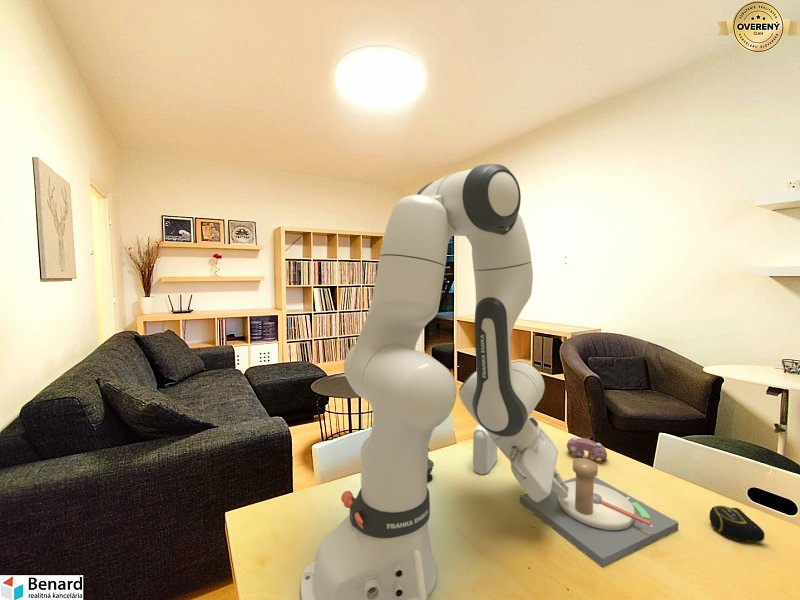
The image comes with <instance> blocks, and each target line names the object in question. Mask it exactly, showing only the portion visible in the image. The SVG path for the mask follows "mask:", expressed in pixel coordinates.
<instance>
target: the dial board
mask: <svg viewBox="0 0 800 600" xmlns="http://www.w3.org/2000/svg"><path fill="white" fill-rule="evenodd" d="M563 481H564V483H568V482H575V481H576V476H575V477H573V478H570V479H569V478H568V479H567V480H563ZM594 483H595V484H599V485H602V486H605V487H608V488H610V489H612V490H614V491H616V492H618V493H620V494H621V495H623V496H624V497H625V498H626V499H628V500H629V501H630V503H631V504H632V506H633V507H634V515H637V516H639V517H641V518H644V519H646V520H648V521H650V522H651V525H650V526H648V525H646V524H644V523H642V522H640V521H637V520H635V519H634V522H633V524H632V525H631V526H630V527H628V528H625V529H621V530H605V529H600V528H596V527H592V526H589V525H586V524H584V523H582V522H580V521H578V520H576V519H574V518H573V517H571V516H570V515H568V514H567V513H566V512H565V511H564V510H563V509H562V508H561V506H560V504H559V502H558V495H557V494H556V493H555V492H553V491H551V493H550V495H549V496H548V497H546V498H545V499H543V500H541V501H540V502H535V501H533V500H532V499H531V498H530V497H529V495H528V494H527V493H526V492H525V493H523V494H521V495H519V503H520V504H522V505H523V506H524V507H525V508H527V510H529V511H530V512H531V513H533V514H534V515H536V516H537V517H538V518H539V519H541V520H542V521H543V522H544V523H546V524H547V525H548V526H549V527H551V528H552V529H553V530H555V531H556V532H557V533H558V534H560V535H561V536H562V537H564V538H565V539H566V540H567V541H568V542H570V543H571V544H573V545H574V546H575V547H577V549H579V551H581V552H583V553H584V554H585V555H587V556H588V557H589V558H590V559H592V560H593V561H594V562H595V563H597V564H598V565H599V566H600V567H602V568H603V567H606V566H608V565H610V564H612V563H614V562H617V561H618V560H620V559H622V558H624V557H626V556H628V555H630V554H632V553H634V552H637V551H638V550H640V549H643V548H644V547H647V546H648V545H650V544H652V543H655V542H657V541H658V540H660V539H662V538H665V537H667V536H669V535H671V534H673V533H675V532H677V531H679V522H678V521H677V520H674V519H673V518H671V517H670V516H668V515H666V514H664V513H662V512H660V511H658V510H657V509H656V508H655V509H654V508H652V507H651V506H649V505H647V503H646V504H645V503H643V502H641V501H640V500H638V499H636V498H635V497H633V496H631V495H629V494H627V493H626V492H624V491H622V490H620V489H618V488H616V487H614V486H613V485H611V484H609V483H608V482H605V480H604V481H603V480H601V479H600V478H598V477H597V476H595V477H594Z"/></svg>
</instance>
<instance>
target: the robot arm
mask: <svg viewBox="0 0 800 600" xmlns="http://www.w3.org/2000/svg"><path fill="white" fill-rule="evenodd" d="M521 195H522V194H521V188H520V184H519V182H518V180H517V178H516V177H515V175H514V174H513V173H512V172H511V170H510V169H509V168H507V166H505V165H502V164H499V163H489V164H488V163H486V164H481V165H477V166H475V167H474V168H470V169H465V170H461V171H458V172H453V173H449V174H447V175H445V176H443V177H441V178H439V179H437V180H435V181H431V182H429V183H427V184H426V185H424V186H423V187H422V188H421V189H420V190H419V191H418V192H417V193H416V194H411V195H407V196H404V197H402V198H399V200H398V201H397V202H396V203H395V204H394V206H393V209H392V211H391V213H390V216H389V218H388V222H387V224H386V227H385V232H384V235H383V238H382V239H383V240H382V243H381V247H380V252H379V258H378V264H377V271H376V275H375V281H374V287H373V292H372V293H373V294H372V297H371V298H372V299H371V302H370V306H369V309H368V313H367V315H366V317H365V319H364V322H363V325H362V327H361V330H360V332H359V335H358V337H357V340H356V342H355V344H354V345H353V346H351V348H350V349H349V350H348V352H347V353H346V355H345V357H344V358H345V359H344V362H343V372H344V377H345V378H346V380H347V382H348V384H349V386H350V387H351V389H352V390H353V392H355V394H356V395H358V396H359V397H360V398H361V399H364V401H366V402H367V403H369V404H370V407H371V410H372V415H373V417H372V425H371V428H370V429H371V431H370V433H369V436H368V437H367V438H366V439H364V442H363V443H362V445H361V447H360V489H359V492H358V494H357V496H356V497H355V496H354V494H353V492H351V490H345V491H344V492H342V494H341V497H340V500H341V502H342V503H343V506H344V507H345V508H346V509H349V515H347V517H345V518H344V519H343V520H342V521H341V522H340V523H338V524H337V526H336V527H335V528H333V529H332V530H331V531H330V532H329V533H328V534H326V535H325V536H324V538H322V540H320V543H319V545H318V548H317V551H316V556H315V560H314V561H311V562H309V563H308V564H307V565H306V566H305V567H304V570H303V572H302V575H301V580H300V600H428V598H429V596H430V594H431V593H432V591H433V589H434V588H435V585H436V583H437V579H438V571H437V570H438V569H437V566H436V562H435V558H434V555H433V551H432V547H431V539H430V532H429V531H430V530H429V520H430V515H431V509H430V508H431V502H430V490H429V488H428V483H427V457H428V458H429V451H428V448H429V449H430V442H431V439H432V435H433V432H434V430H435V429H436V428H437V427H439V426H440V425H442V424H443V423H444V422H445V421H446V420H447V419H448V417H449V416H450V415H451V413H452V411H453V409H454V407H455V404H456V400H457V393H458V396H459V399H460V401H461V403H462V405H463V406H464V408H465V410H466V411H467V412H468V414H470V416H471V417H472V418H473V419H474V421H475V422H476V423H477V425H478V424H479V425H480V426H482V427H483V428H484V429H485V430H486V431H487V432H488V434H489V436H490V438H491V439H492V441H493V442H494V443H495V444H496V445H497V449H499V450H500V451H501V452H502V454H503V455H504V457H506V459H508V461H509V462H510V469H511V473H512V475H513V476H514V478H515V479H516V480H517V482H518V484H519V485H520V486H521V488H522V489H523V490H524V491H525V494H526V493H527V494H528V495H529V497H530V498H531V499H532V500H533V501H535V502H540V501H541V500H543V499H545V498H546V497H548V496H549V495H550V493H551V491H553V492H555V493H556V494H557V495H558V496H559V497H560V498H561V499H565V498H567V497H568V490H569V487H568V486H567V485H566V484H565V483H564V481H565V480H563V478H562V476H561V474H560V472H559V470H558V469H557V468H556V467H557V460H558V456H559V449H558V448H557V446H556V444H555V443H554V441H552V439H551V438H550V437H549V436H548V434H547V433H546V432H545V431H544V429H543V428H541V427H540V426H539V425H540V423H539V422H538V420H537V419H536V418H535V417H534V416H531V414H532V412H533V411H534V410H535V409H536V407H537V405H538V403H539V402H540V401H541V400H542V398H543V395H544V393H545V391H546V381H545V379H544V377H543V375H542V373H541V372H540V371H539V370H538V369H537V368H536V367H535V366H533V365H532V364H530V363H528V362H525V361H514V362H512V354H511V353H512V351H511V349H512V348H511V338H512V334H513V330H514V326H515V324H516V322H517V320H518V318H519V316H520V314H521V313H522V311H523V310H524V308H525V306H526V305H527V303H528V302H529V300H530V298H531V296H532V292H533V291H532V290H533V279H534V277H533V276H534V274H533V273H534V272H533V270H534V269H533V262H532V254H531V249H530V242H529V239H528V233H527V231H526V227H525V224H524V221H523V219H522V216H521V214H520V213H519V211H520V209H521V200H522V198H521ZM455 236H457V237H466V239H467V240H468V241H469V243H470V246H471V256H472V257H471V259H472V266H473V267H472V268H473V274H474V275H473V276H474V287H475V311H474V344H475V348H474V349H475V363H476V365H475V366H476V371H474V372H471V374H470V375H469V376H468V377H467V379H465V380H464V382H463V383H462V384H461V386H460V388H459V391H457V383H456V379H455V378H454V375H453V373H452V372H451V371H450V370H449V369H448V368H447V367H446V366H445V365H444V364H443V363H441V362H440V361H439V360H437V359H435V358H434V357H433V356H432V355H430V354H428V353H426V352H422V351H420V350H416V346H417V343H418V341H419V338H420V337H421V334H422V332H423V330H425V329H424V328H425V327H426V326H427V325H428V323H430V322H431V321H432V320H433V319H434V318H435V317H436V316H437V314H438V313H439V309H440V308H439V307H440V302H441V296H442V292H443V291H442V290H443V284H444V277H445V271H446V264H447V255H448V247H449V246H448V245H449V244H450V243H449V242H450V240H451V238H453V237H455Z"/></svg>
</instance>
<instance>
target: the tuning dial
mask: <svg viewBox="0 0 800 600" xmlns="http://www.w3.org/2000/svg"><path fill="white" fill-rule="evenodd" d="M598 466H599V465H598V463H596V461H593V460H590V459H589V458H584V457H576V458H573V460H572V471H573V472H574V473H575V477H576V481H575V482H568V483H565V484H566V485H567V486H568V487H569V490H568V497H567V498H565V499H561V498H560V497H559V496H558V502H559V504H560V506H561V508H562V509H563V510H564V511H565V512H566V513H567V514H568V515H570V516H571V517H573V518H574V519H576V520H578V521H580V522H582V523H584V524H586V525H589V526H592V527H596V528H600V529H605V530H621V529H625V528H628V527H630V526H631V525H632V524H633V522H634V519H635V520H637V521H640V522H642V523H644V524H646V525H648V526H650V525H651V522H650V521H648V520H646V519H644V518H641V517H639V516H637V515H634V507H633V506H632V504H631V503H630V501H629V500H628V499H626V498H625V497H624V496H623V495H621V494H620V493H618V492H616V491H614V490H612V489H610V488H608V487H605V486H602V485H599V484H595V483H594V477H597V476H598V468H599V467H598Z"/></svg>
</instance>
